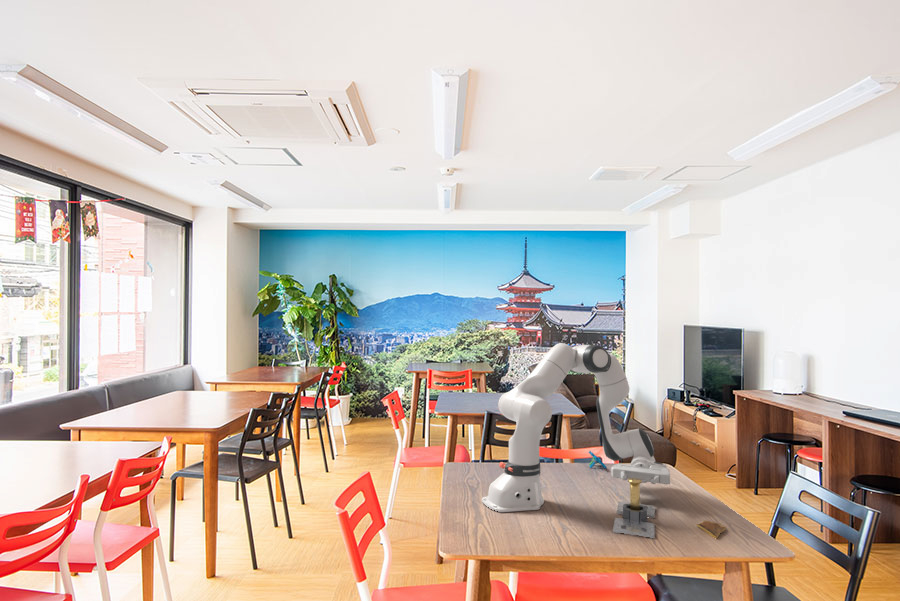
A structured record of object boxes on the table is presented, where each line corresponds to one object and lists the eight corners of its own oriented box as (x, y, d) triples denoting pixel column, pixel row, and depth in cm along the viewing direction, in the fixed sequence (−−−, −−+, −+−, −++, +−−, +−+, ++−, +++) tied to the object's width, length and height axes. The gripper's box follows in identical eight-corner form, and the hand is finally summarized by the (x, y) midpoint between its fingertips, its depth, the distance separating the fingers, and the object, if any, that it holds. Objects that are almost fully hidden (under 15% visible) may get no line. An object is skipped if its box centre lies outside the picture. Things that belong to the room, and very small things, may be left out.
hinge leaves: (654, 538, 152) (654, 525, 152) (612, 532, 156) (612, 519, 157) (654, 508, 177) (654, 497, 177) (618, 504, 181) (618, 492, 182)
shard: (716, 541, 151) (716, 535, 152) (689, 534, 157) (689, 528, 157) (727, 531, 159) (727, 525, 159) (701, 524, 165) (701, 518, 165)
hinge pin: (634, 523, 164) (634, 482, 164) (625, 518, 168) (624, 478, 168) (645, 521, 165) (644, 480, 166) (635, 516, 170) (635, 477, 170)
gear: (610, 467, 222) (593, 450, 224) (600, 477, 222) (583, 460, 223) (604, 464, 233) (588, 448, 235) (595, 473, 232) (579, 457, 234)
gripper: (613, 458, 195) (608, 467, 182) (670, 464, 186) (669, 474, 174) (613, 474, 195) (608, 484, 182) (671, 481, 186) (669, 493, 173)
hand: (638, 479), depth 178 cm, fingers open, 8 cm apart
